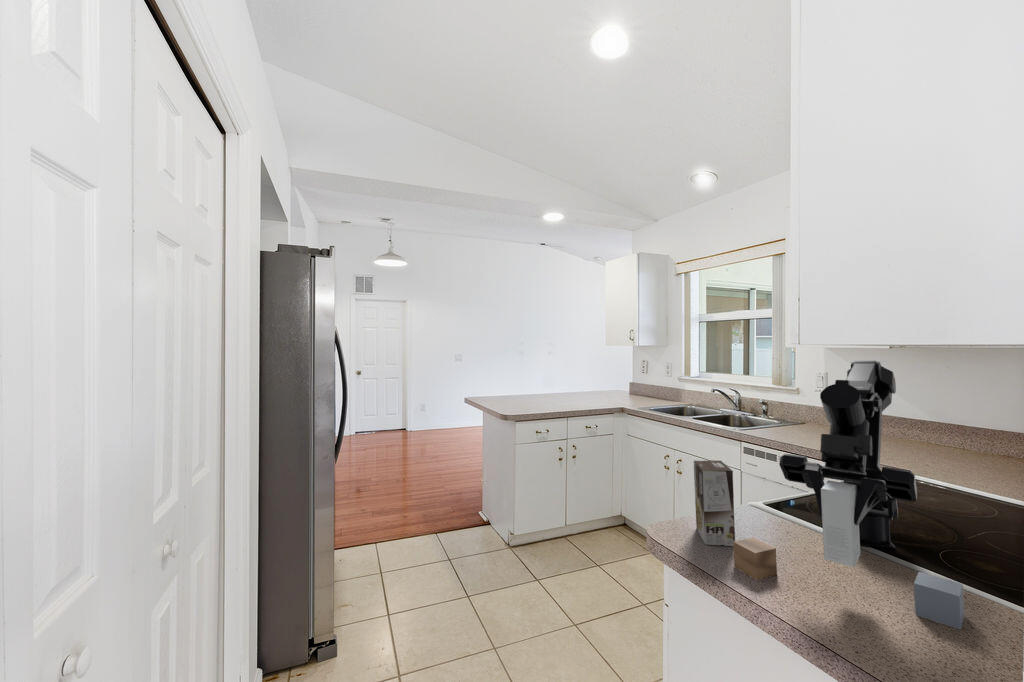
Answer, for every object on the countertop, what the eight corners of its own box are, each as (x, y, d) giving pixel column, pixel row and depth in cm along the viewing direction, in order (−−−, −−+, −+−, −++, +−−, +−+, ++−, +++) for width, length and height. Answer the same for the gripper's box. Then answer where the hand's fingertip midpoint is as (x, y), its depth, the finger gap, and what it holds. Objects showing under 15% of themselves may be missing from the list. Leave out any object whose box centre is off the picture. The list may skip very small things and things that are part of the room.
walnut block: (754, 562, 86) (753, 537, 86) (776, 575, 81) (775, 548, 81) (734, 567, 84) (733, 541, 84) (756, 580, 79) (755, 553, 79)
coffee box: (736, 547, 92) (733, 470, 92) (704, 545, 93) (701, 470, 94) (724, 529, 101) (722, 459, 101) (695, 527, 102) (692, 459, 103)
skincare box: (830, 547, 77) (827, 479, 77) (860, 555, 74) (857, 484, 74) (822, 559, 73) (819, 488, 73) (854, 568, 70) (851, 493, 70)
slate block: (920, 602, 71) (918, 571, 71) (964, 616, 67) (962, 583, 67) (915, 615, 68) (913, 583, 68) (961, 630, 64) (959, 596, 64)
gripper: (779, 411, 83) (764, 483, 75) (912, 420, 70) (909, 510, 62) (792, 444, 88) (779, 515, 81) (917, 459, 75) (916, 545, 67)
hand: (838, 520), depth 72 cm, fingers closed on skincare box, 4 cm apart
